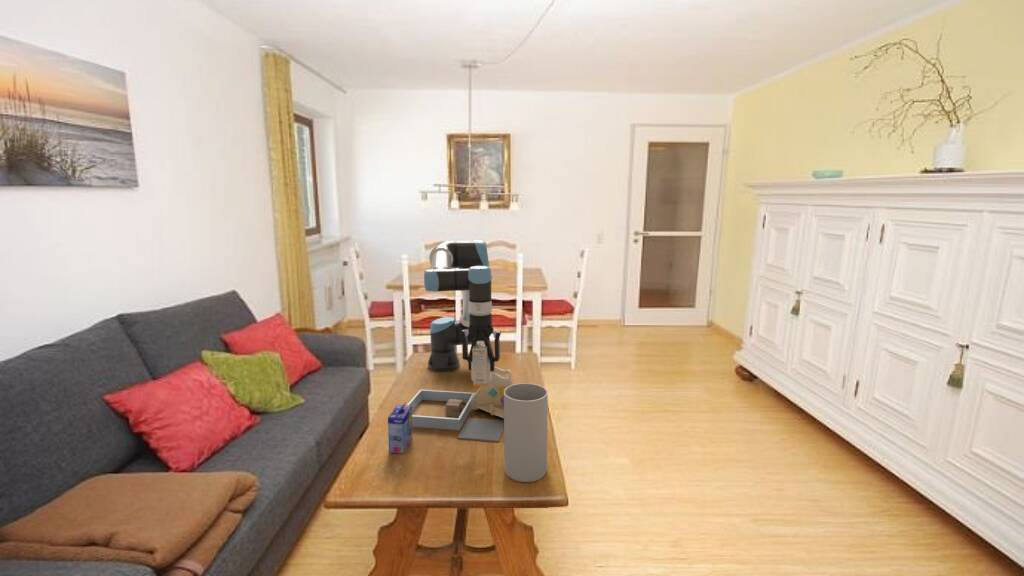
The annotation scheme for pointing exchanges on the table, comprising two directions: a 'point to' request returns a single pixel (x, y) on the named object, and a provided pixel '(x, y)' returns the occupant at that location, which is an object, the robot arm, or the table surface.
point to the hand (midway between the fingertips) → (481, 379)
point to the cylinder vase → (525, 432)
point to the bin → (441, 421)
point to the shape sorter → (493, 393)
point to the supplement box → (480, 364)
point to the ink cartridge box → (400, 428)
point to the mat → (482, 430)
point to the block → (454, 408)
